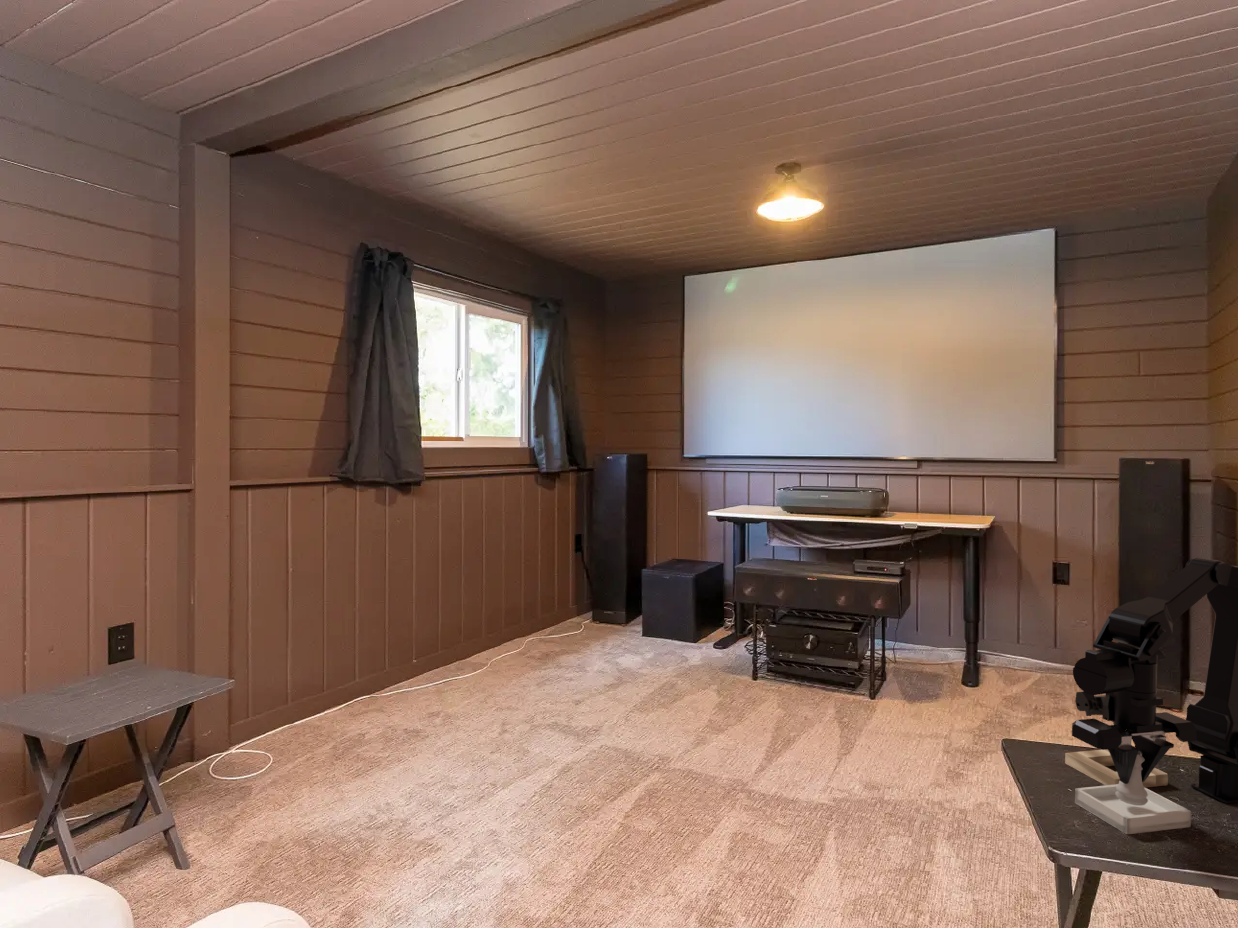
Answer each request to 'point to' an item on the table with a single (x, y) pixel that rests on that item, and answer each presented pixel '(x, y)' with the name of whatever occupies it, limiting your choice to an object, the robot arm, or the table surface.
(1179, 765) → the table surface
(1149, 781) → the socket block
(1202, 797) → the table surface
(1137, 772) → the rook chess piece
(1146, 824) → the tray
